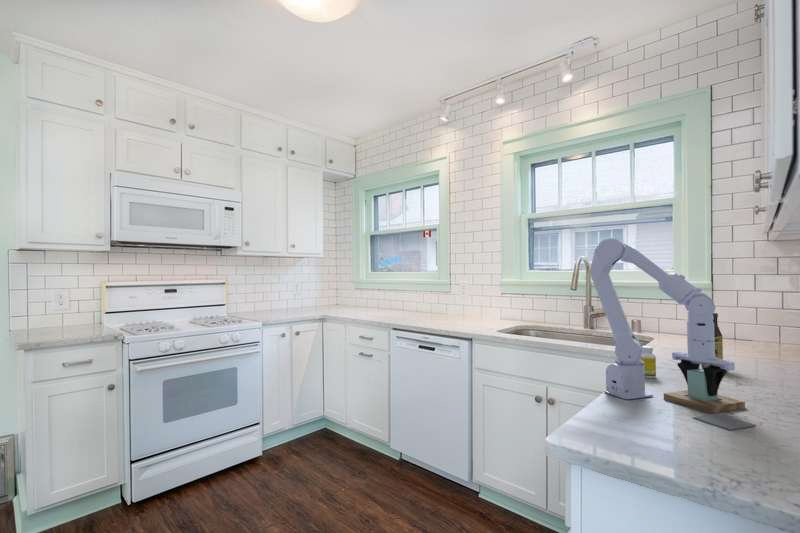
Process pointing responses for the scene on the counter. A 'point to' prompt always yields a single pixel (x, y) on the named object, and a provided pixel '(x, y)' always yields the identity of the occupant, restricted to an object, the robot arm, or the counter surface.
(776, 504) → the counter surface
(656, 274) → the robot arm
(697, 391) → the peg
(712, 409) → the block
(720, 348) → the sauce bottle
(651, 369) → the supplement bottle
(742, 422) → the rubber mat
